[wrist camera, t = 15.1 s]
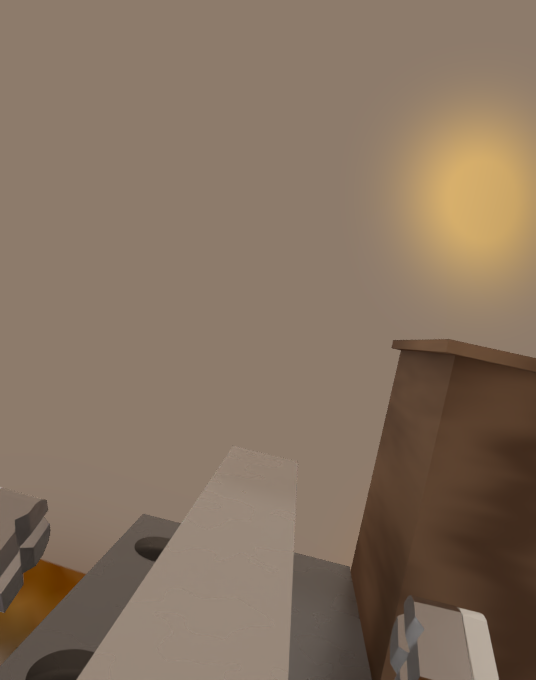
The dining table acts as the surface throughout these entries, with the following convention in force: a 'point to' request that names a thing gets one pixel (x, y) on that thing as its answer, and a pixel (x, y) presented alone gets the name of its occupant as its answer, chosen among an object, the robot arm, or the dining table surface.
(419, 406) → the tall wooden cabinet
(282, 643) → the grey rectangular block
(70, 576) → the dining table surface
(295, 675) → the riser block
